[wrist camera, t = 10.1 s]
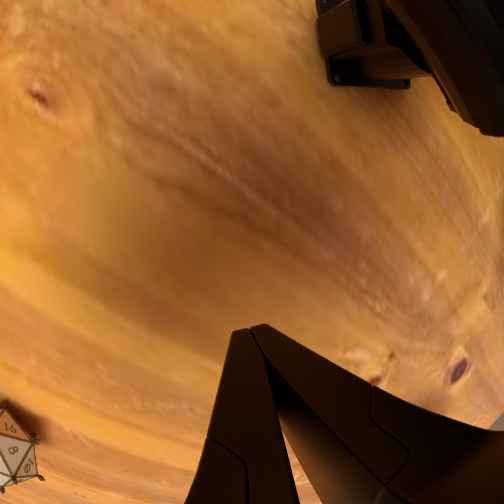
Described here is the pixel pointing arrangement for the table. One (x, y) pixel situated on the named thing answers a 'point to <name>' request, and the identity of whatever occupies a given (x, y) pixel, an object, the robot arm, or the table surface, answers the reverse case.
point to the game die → (16, 451)
